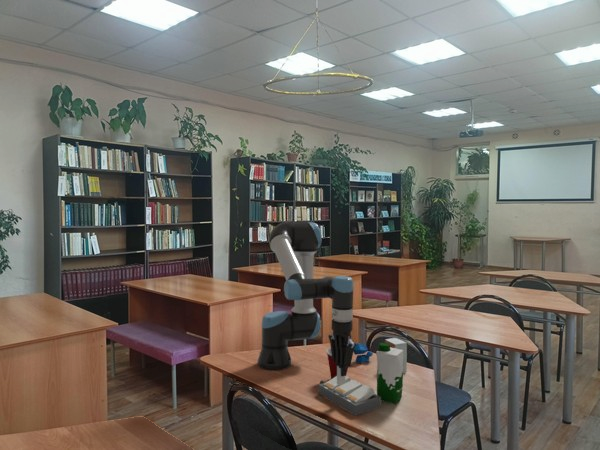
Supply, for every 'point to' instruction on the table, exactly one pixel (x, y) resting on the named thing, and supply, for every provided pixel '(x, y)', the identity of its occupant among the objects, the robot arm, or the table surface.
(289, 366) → the robot arm
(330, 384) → the rocker
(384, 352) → the milk carton
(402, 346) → the small box
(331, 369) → the plastic cup
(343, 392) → the rocker
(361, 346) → the blue toy figurine
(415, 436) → the table surface
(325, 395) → the grey compartment tray
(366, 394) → the rocker
